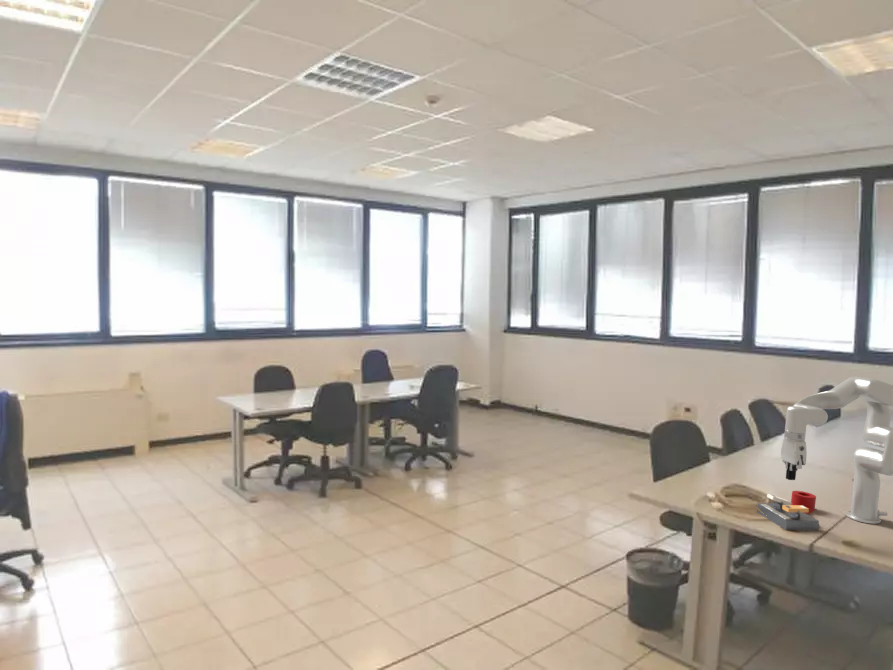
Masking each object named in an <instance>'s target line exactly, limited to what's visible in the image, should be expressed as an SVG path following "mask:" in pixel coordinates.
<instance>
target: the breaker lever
mask: <svg viewBox="0 0 893 670" xmlns="http://www.w3.org/2000/svg"><path fill="white" fill-rule="evenodd" d="M782 509H783V510H785V511H787V512H797V513H800V512H805V513H809V509H808V508H806V507H805V506H803V505H782Z"/></svg>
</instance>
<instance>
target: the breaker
mask: <svg viewBox="0 0 893 670" xmlns="http://www.w3.org/2000/svg"><path fill="white" fill-rule="evenodd" d="M766 498H767V499H770V500H772V501H773V502H774V501H777V502H779V503H781V504H785V505H791V501H789V500H787V499H785V498H781V497H779V496H776V495H774V494H770V493H767V495H766Z"/></svg>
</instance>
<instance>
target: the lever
mask: <svg viewBox="0 0 893 670" xmlns="http://www.w3.org/2000/svg"><path fill="white" fill-rule="evenodd" d="M816 501H817V495H816V494H813V493H811V492H808V491H807V492H806V491H800V490H793V491H792V492H791V500H790V502H791V505H803V506H805V507H806V508H808V509H809V513H806V514H807V515H810V514H813V513H814V512H815V508H816ZM804 513H805V512H804Z"/></svg>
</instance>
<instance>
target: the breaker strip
mask: <svg viewBox="0 0 893 670" xmlns="http://www.w3.org/2000/svg"><path fill="white" fill-rule="evenodd" d="M782 505H785V504H781V503H779V502H777V501H774V500H773V503H770V502H768V503H766V502H765V503H764V502H757V506H756V508H757V507H758V508H759V509H760V510H761V511H762V512H763V513H764V514H763V513H761V512H760V511H758V510H757V509H756V513H757V514H759V515H761V516H762V517H764V518H766V519H767V520H768V521H771V522H772V523H774V524H776V525H777V526H779V527H780V528H782V529H784V530H785V531H819V526H818V524H819V525H820V520H818V519H817V518H815V517H813V516H811V515H810V514H806V513H804V512H800V513H797V512H787V511H785V510H783V509H782ZM766 515H767V516H766Z"/></svg>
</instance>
